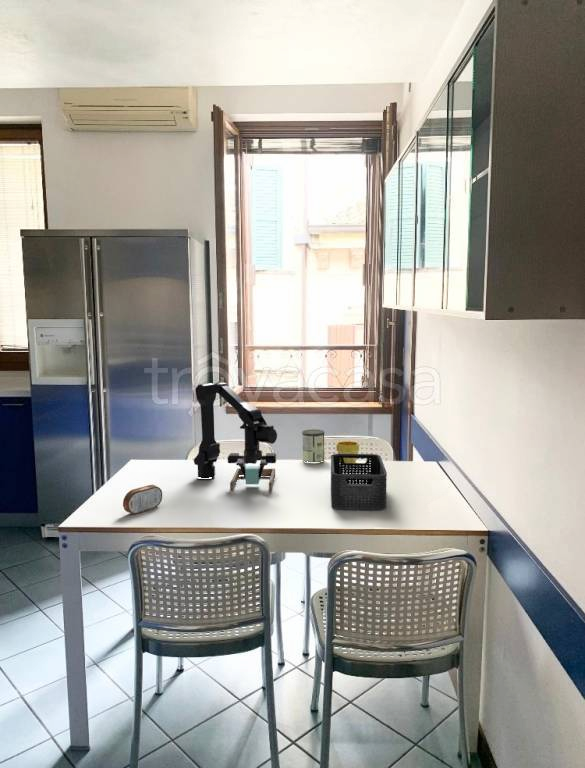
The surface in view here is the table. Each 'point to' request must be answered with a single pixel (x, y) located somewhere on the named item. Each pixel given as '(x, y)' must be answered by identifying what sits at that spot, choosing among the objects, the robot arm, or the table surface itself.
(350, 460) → the plant pot
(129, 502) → the tin
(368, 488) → the storage bin
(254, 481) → the teal block
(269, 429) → the robot arm
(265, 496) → the table surface
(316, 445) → the coffee can
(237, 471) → the wooden u-shaped frame
